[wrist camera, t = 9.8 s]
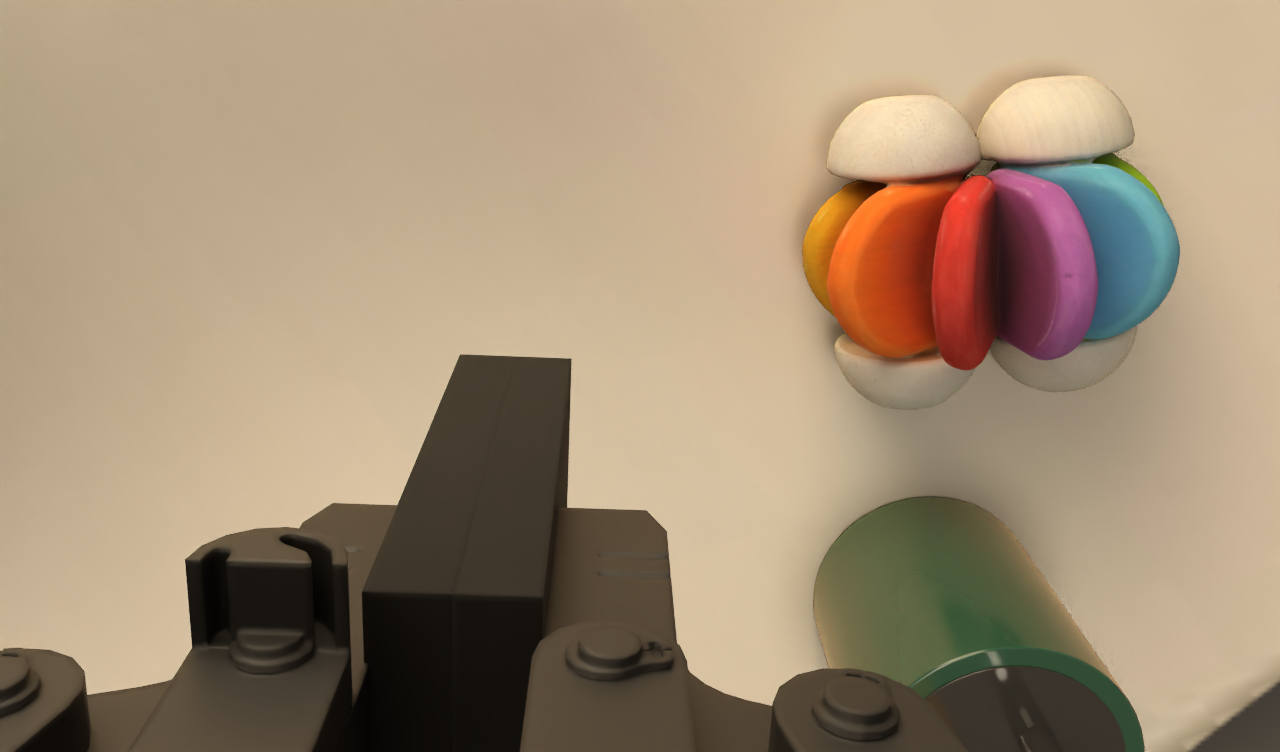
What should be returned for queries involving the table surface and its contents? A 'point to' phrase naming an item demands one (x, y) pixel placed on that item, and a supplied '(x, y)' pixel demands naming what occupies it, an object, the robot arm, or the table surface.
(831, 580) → the pen cup
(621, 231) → the table surface
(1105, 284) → the rainbow disc baby rattle
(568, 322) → the table surface
